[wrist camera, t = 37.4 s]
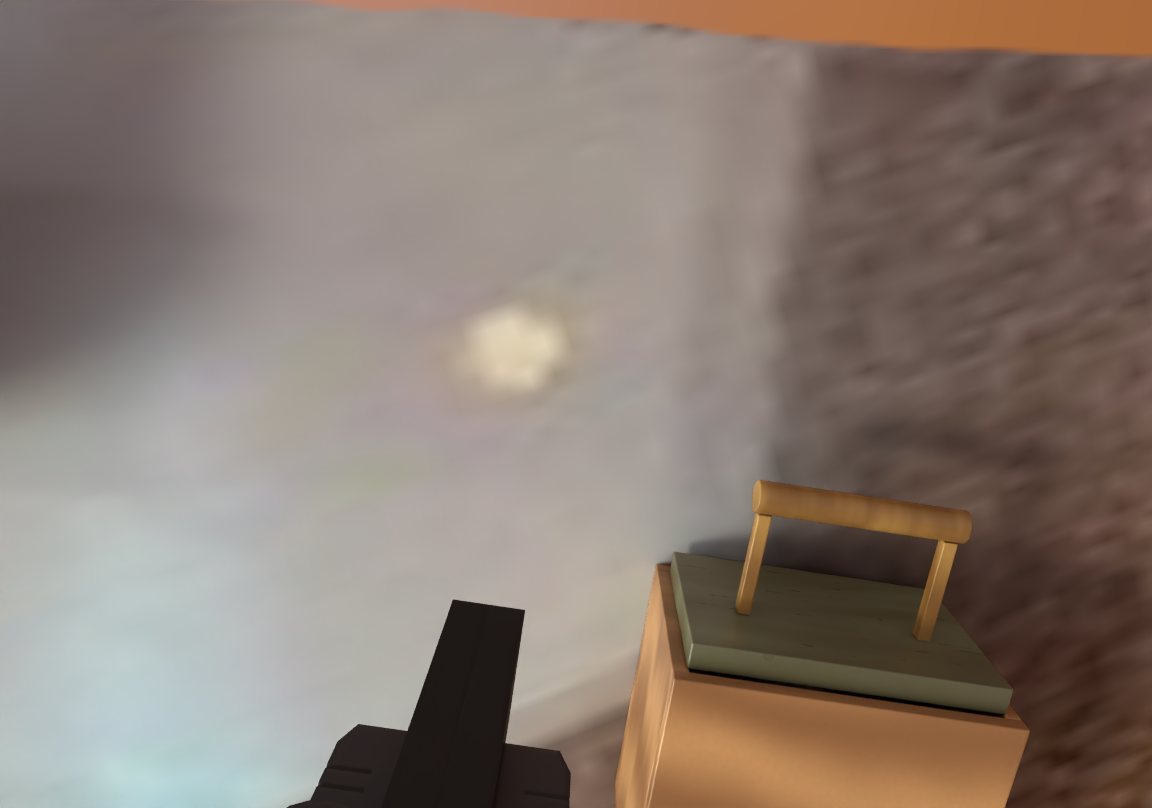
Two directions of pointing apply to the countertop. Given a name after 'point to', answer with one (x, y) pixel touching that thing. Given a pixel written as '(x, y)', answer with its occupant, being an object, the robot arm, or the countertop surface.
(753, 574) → the drawer
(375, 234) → the countertop surface
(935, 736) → the cabinet
